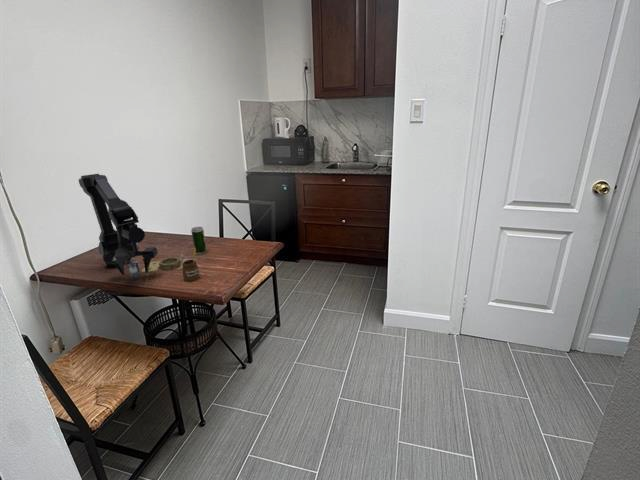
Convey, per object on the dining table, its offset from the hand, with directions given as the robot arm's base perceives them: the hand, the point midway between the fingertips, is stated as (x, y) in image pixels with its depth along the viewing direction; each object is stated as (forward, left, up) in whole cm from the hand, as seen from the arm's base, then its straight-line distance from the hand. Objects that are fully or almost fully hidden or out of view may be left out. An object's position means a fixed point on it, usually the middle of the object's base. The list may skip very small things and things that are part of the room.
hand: (135, 273), depth 138 cm
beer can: (+21, +23, -2) cm, 31 cm away
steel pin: (0, 0, -2) cm, 2 cm away
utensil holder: (+23, -5, -2) cm, 24 cm away
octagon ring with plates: (+11, +9, -2) cm, 14 cm away
